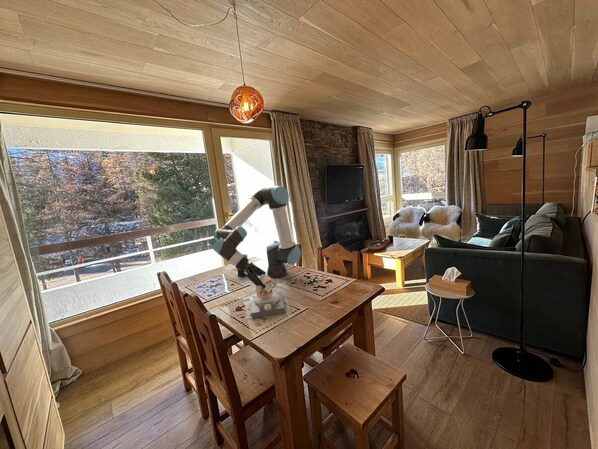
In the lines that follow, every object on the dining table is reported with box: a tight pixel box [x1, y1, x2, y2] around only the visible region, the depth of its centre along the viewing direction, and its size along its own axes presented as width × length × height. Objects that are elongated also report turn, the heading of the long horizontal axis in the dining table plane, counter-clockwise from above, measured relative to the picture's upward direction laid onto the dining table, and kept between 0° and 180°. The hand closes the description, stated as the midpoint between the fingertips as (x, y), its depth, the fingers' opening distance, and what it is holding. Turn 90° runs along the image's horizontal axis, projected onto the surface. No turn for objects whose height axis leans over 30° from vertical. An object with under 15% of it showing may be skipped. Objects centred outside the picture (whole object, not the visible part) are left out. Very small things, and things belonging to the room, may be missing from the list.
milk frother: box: [236, 254, 248, 277], centre depth 191 cm, size 14×16×15 cm
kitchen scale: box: [250, 291, 286, 319], centre depth 137 cm, size 20×17×6 cm
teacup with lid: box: [255, 275, 277, 299], centre depth 139 cm, size 12×9×12 cm
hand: (271, 286), depth 138 cm, fingers closed on teacup with lid, 9 cm apart
